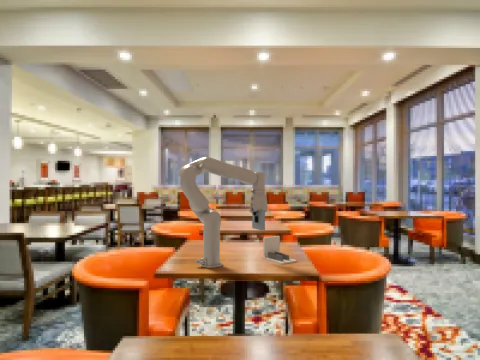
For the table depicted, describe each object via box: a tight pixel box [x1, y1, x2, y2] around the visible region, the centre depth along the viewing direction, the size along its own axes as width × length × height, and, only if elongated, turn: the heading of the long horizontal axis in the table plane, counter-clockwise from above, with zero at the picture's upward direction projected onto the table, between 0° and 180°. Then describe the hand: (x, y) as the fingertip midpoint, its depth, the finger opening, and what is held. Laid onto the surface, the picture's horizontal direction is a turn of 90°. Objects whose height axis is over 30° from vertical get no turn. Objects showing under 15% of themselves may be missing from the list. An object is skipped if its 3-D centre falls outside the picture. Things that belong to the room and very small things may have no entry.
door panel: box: [251, 210, 266, 231], centre depth 190 cm, size 4×10×12 cm, turn 32°
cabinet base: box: [262, 235, 298, 265], centre depth 191 cm, size 12×18×13 cm, turn 32°
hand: (258, 222), depth 190 cm, fingers closed on door panel, 2 cm apart
